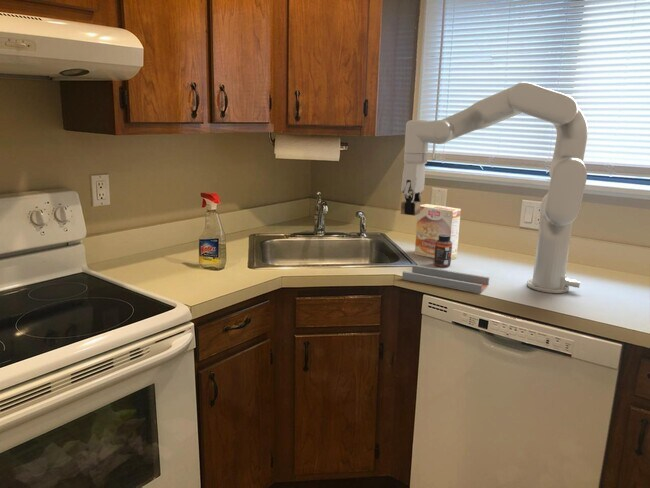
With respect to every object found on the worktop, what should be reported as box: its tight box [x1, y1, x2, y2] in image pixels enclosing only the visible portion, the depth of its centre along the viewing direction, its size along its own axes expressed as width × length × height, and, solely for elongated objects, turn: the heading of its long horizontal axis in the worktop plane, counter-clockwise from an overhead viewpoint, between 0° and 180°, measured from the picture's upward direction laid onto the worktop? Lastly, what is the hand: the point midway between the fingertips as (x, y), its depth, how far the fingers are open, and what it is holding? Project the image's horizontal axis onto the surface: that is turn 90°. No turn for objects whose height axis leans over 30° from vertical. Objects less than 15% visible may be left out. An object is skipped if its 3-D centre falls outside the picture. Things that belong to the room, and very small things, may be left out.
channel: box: [401, 264, 490, 294], centre depth 178 cm, size 26×10×2 cm, turn 61°
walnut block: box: [400, 200, 422, 217], centre depth 182 cm, size 5×5×4 cm
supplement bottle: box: [433, 234, 452, 268], centre depth 196 cm, size 6×6×11 cm
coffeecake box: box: [414, 203, 462, 261], centre depth 207 cm, size 15×7×20 cm, turn 49°
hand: (412, 212), depth 182 cm, fingers closed on walnut block, 5 cm apart
